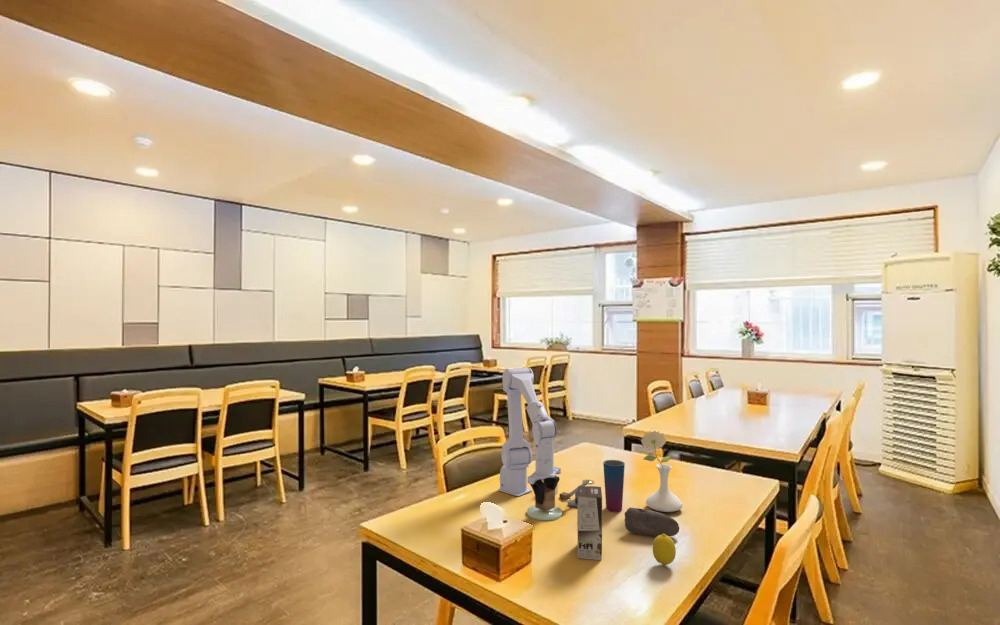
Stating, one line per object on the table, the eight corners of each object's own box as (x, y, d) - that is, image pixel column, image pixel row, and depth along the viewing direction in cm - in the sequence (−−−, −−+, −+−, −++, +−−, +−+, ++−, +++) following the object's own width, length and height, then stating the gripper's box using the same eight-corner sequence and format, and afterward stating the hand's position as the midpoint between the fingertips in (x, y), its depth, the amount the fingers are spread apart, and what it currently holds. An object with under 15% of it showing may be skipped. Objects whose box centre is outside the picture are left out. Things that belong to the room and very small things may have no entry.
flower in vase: (684, 505, 171) (684, 429, 171) (680, 517, 160) (680, 437, 160) (643, 499, 176) (643, 426, 176) (637, 511, 166) (637, 433, 166)
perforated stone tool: (679, 535, 148) (679, 511, 148) (679, 542, 143) (679, 517, 143) (626, 527, 153) (626, 504, 153) (623, 534, 148) (623, 510, 148)
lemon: (649, 561, 132) (649, 529, 132) (670, 560, 133) (670, 529, 133) (657, 571, 127) (657, 539, 127) (679, 570, 127) (679, 538, 127)
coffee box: (602, 560, 133) (602, 497, 133) (577, 558, 134) (576, 496, 134) (601, 545, 142) (601, 486, 142) (578, 543, 143) (577, 484, 143)
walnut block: (535, 507, 164) (535, 490, 164) (544, 503, 167) (544, 486, 167) (546, 511, 161) (546, 493, 161) (554, 507, 164) (554, 490, 164)
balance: (556, 510, 167) (556, 490, 167) (586, 496, 179) (586, 477, 179) (566, 513, 164) (566, 493, 164) (596, 499, 177) (596, 480, 177)
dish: (520, 514, 164) (520, 510, 164) (541, 504, 172) (541, 501, 172) (547, 523, 156) (547, 520, 156) (569, 513, 164) (569, 510, 164)
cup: (625, 513, 164) (625, 466, 164) (603, 512, 165) (603, 465, 165) (624, 505, 170) (624, 460, 170) (603, 504, 172) (603, 459, 172)
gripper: (540, 465, 156) (540, 511, 156) (568, 456, 166) (568, 498, 166) (522, 461, 161) (522, 505, 161) (550, 452, 171) (550, 493, 171)
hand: (544, 501), depth 164 cm, fingers closed on walnut block, 4 cm apart
